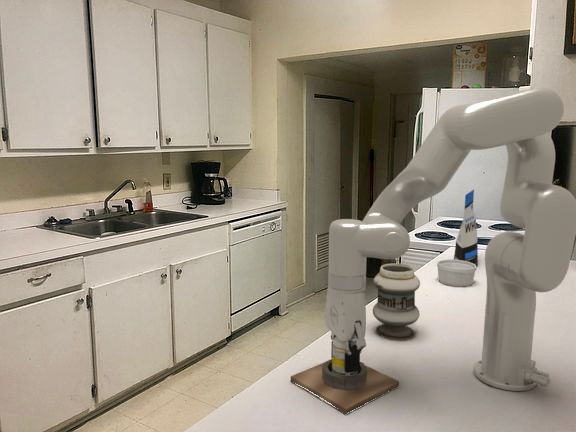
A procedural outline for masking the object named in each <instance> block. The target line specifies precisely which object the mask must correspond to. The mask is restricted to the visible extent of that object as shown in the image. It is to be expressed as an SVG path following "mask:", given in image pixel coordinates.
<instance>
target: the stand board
mask: <svg viewBox="0 0 576 432" xmlns="http://www.w3.org/2000/svg"><path fill="white" fill-rule="evenodd" d="M291 381H292V382H294V383H296V384H298V385H300V386H302V387H304V388H306V389H308V390H309V391H311V392H313V393H314V394H316V395H318V396H319V397H321V398H323V399H324V400H326V401H327V402H329V403H331V404H332V405H333V406H335V407H336V408H338V409H339V410H340V411H342V412H343V413H345V414H347V413H348V412H350V411H352V410H354V409H356V408H358V407H360V406H362V405H364V404H365V403H367V402H369V401H371V400H373V399H375V398H377V397H379V396H381V395H383V394H384V395H386V394H388V393H389V392H388V391H390V392H392V391H393V390H392V389H394V388H396V389H398V388H399V387H400V380H397V379H396V378H393V377H391V376H390V375H388V374H385V373H383V372H381V371H378V370H377V369H375V368H373V367H370V366H368V365H365V363H364V362H362V361H360V370H359V371H357V374H356V375H353V376H341V375H336V374H334V373H333V372H332V358H331V359H328V360H325V361H324V362H322V363H320V364H319V363H318V364H317V365H314V366H312V367H309V368H308V369H305V370H302V371H300V372H297V373H295V374H293V375H290V382H291ZM292 382H291V383H292ZM294 383H293V384H294ZM296 384H295V385H296ZM398 386H399V387H398ZM397 387H398V388H397ZM391 390H392V391H391ZM394 390H395V389H394ZM387 392H388V393H387ZM385 393H386V394H385ZM384 395H383V396H384ZM381 397H382V396H381ZM379 398H380V397H379ZM377 399H378V398H377ZM375 400H376V399H375ZM373 401H374V400H373ZM371 402H372V401H371ZM369 403H370V402H369ZM364 406H365V405H364ZM362 407H363V406H362ZM360 408H361V407H360ZM358 409H359V408H358ZM339 410H338V411H339ZM356 410H357V409H356ZM340 411H339V412H340ZM354 411H355V410H354ZM342 412H341V413H342ZM343 413H342V414H343ZM345 414H344V415H345ZM347 415H348V414H347Z"/></svg>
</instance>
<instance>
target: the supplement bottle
mask: <svg viewBox="0 0 576 432" xmlns="http://www.w3.org/2000/svg"><path fill="white" fill-rule="evenodd" d="M354 337H355V335H352V338H354ZM332 341H333V347H332V346H331V349H332V358H331V359H332V372H333V373H334V374H336V375H341V376H353V375H356V374H357V371H355V372H349V373H346V372H345V371H344V363H345V353H347V351H346V343H345V342H343V341H342V340H340V339H339V338H338V337H337V336H336V337H335V338H334V339H333V340H332ZM350 344H351V347H352V346H353V345H355V344H356V343H355V341H353V342H350Z"/></svg>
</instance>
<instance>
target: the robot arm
mask: <svg viewBox="0 0 576 432" xmlns="http://www.w3.org/2000/svg"><path fill="white" fill-rule="evenodd" d="M564 109H565V106H564V102H563V100H562V97H561V96H560V95H559V94H558V93H557V92H556V91H554V90H552V89H551V88H547V87H533V88H528V89H522V90H516V91H515V90H514V91H510V92H505V93H503V94H500V95H497V96H496V97H495V98H494V99H493V98H492V99H490V100H485V101H479V102H474V103H473V102H472V103H466V104H459V105H455V106H452V107H450V108H449V109H447V110H445V112H444V113H443V114H441V115H440V117H439V118H438V120H437V122H436V123H435V125H434V126H433V127H432V129H431V130H430V132H429V133H428V135H427V136H426V137H425V139H424V140H423V142H422V144H421V145H420V147H419V148H418V150H417V151H416V152H415V154H414V156H413V157H412V158H411V160H410V161H409V162H408V164H407V166H406V167H405V168H404V169H403V170H402V171H401V172H399V174H398V175H397V176H396V177H395V178H394V179H393V180H392V181H391V182H390V183H389V184H388V185H387V186H386V187H385V188H384V189H383V191H381V193H379V195H378V197H377V198H376V200H375V201H374V202H373V204H372V206H371V207H370V208H369V210H368V211H367V213H366V215H365V216H364V217H363V219H362V220H359V219H354V218H341V219H336V220H333V221H332V222H331V223H330V225H329V227H328V228H329V229H328V275H327V276H328V278H327V279H328V280H327V281H328V284H327V285H328V286H327V290H326V299H325V310H324V311H325V312H324V315H325V316H324V324H325V327H326V328H327V329H328V330H329V331H330V332H331V333H330V340H331V351H330V352H331V353H330V354H331V359H332V347H333V339H334V338H335V337H336V336H337V337H338V338H339V339H340V340H342V341H343V342H345V343H346V351H347V353H345V363H344V371H345V372H346V373H349V372H355V371H359V370H360V362H361V354H362V351H363V350H364V348H366V347H367V342H366V339H365V336H366V332H367V331H366V330H367V328H366V327H367V310H366V309H367V307H366V306H367V305H366V296H365V290H366V284H367V283H366V282H367V258H375V259H380V260H395V259H399V258H400V257H403V256H404V255H405V254H406V253H407V252H408V250H409V248H410V245H411V237H410V234H409V232H408V230H407V229H406V228H405V227H404V226H403V225H402V224H401V223H402V222H403V220H405V219H404V218H405V217H406V216H407V215H408V214H409V212H411V210H412V209H413V208H415V207H416V206H417V205H418V204H420V203H421V202H424V201H425V200H427V199H430V198H432V197H434V196H436V195H438V194H439V193H441V192H443V191H444V190H445V189H446V187H447V186H448V185H449V183H450V182H451V180H452V179H453V177H454V176H455V174H456V173H457V171H458V169H459V168H460V167H461V165H462V164H463V163H464V160H466V158H467V157H468V156H469V154H470V152H471V151H474V150H475V151H477V150H478V151H481V150H489V149H494V148H498V147H503V146H505V148H506V150H507V166H506V172H505V177H504V184H503V189H502V194H501V198H500V207H499V208H500V214H501V217H502V218H503V219H504V221H506V222H507V223H508V224H510V225H513V226H514V227H518V228H520V229H523V230H524V233H520V232H515V231H505V232H501V233H498V234H496V235H495V236H493V237H492V238H491V239H490V240H489V242H488V244H487V245H486V248H485V251H484V267H485V273H486V274H485V275H486V276H485V277H486V296H485V297H486V298H485V310H484V322H483V323H484V324H483V336H482V337H483V338H482V350H481V359H480V360H478V361H476V362H475V363H474V365H473V374H474V375H475V377H476V378H477V379H479V381H481V382H483V383H485V384H486V385H489V386H491V387H494V388H497V389H501V390H504V391H505V390H506V391H513V392H522V391H529V390H531V389H534V388H536V386H537V385H539V386H542V387H545V388H548V387H549V386H550V385H551V378H550V377H549V376H550V375H549V373H548V372H545V371H543V370H540V369H538V368H537V367H536V363H537V362H536V361H535V360H533V359H532V354H533V353H532V351H533V341H534V329H535V317H536V311H537V309H536V308H537V293H547V292H550V291H553V290H555V289H556V288H557V287H559V286H560V285H561V284H562V283H563V281H564V279H565V278H566V276H567V273H568V271H569V267H570V262H571V258H572V253H573V249H574V244H575V239H576V198H575V197H574V195H573V194H572V192H570V191H569V190H568V189H567V188H564V187H562V186H560V185H556V184H553V178H554V171H555V164H556V149H555V144H554V141H553V139H552V137H551V135H550V132H551V131H553V130H554V129H555V128H556V127H557V126H558V125H559V124H560V122H561V120H562V119H563V116H564ZM352 335H355V337H354V338H352ZM353 341H355V343H356V344H355V345H353V346H352V347H351V344H350V342H353Z"/></svg>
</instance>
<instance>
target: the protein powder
mask: <svg viewBox="0 0 576 432" xmlns="http://www.w3.org/2000/svg"><path fill="white" fill-rule="evenodd" d="M464 196H465V198H464V212H463V218H462V222H461V225H460V227H459V230H458V235H457V237H456V241H455V249H454V255H453V260H462V261H467V262H470V263H473V264H475V265H476V268H478V265H479V262H478V257H479V255H478V253H479V252H478V251H479V250H478V246H479V245H478V230H477V217H476V215H475V211H474V196H475V189H472V190H471V191H469V192H467V194H465V195H464Z"/></svg>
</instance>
